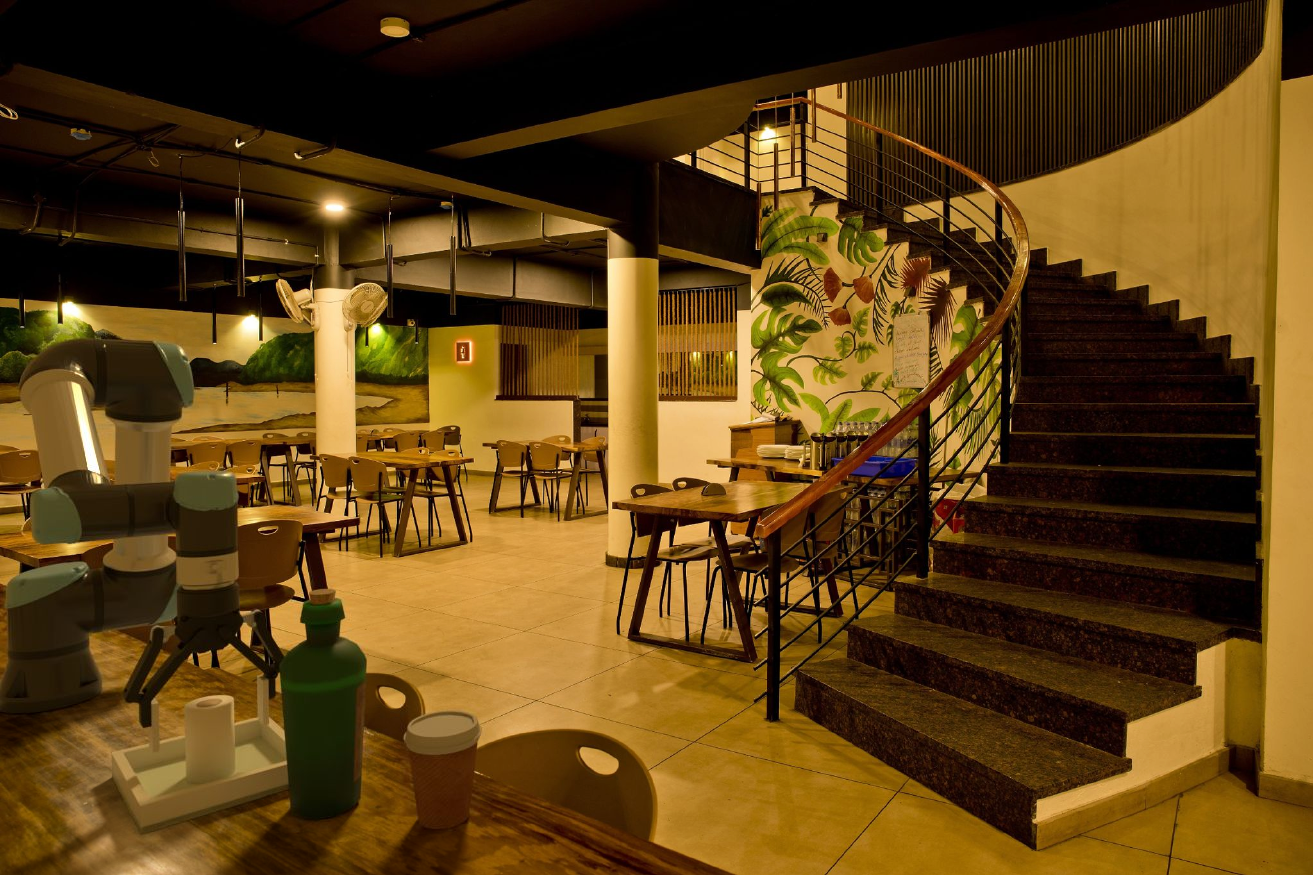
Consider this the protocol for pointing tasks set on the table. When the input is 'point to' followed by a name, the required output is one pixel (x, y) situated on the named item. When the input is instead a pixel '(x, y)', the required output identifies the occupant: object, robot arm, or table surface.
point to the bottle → (323, 712)
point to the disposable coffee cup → (443, 766)
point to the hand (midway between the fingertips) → (211, 735)
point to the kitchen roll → (209, 739)
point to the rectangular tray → (170, 799)
